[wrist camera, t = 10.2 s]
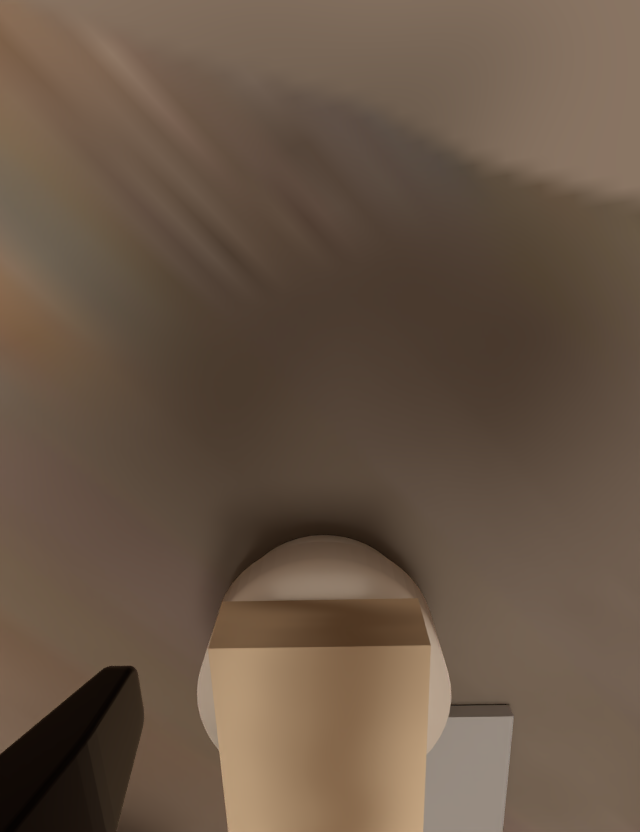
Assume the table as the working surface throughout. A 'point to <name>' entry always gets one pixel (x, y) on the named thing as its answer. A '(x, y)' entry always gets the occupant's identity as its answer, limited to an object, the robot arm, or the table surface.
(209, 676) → the bowl
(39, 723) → the robot arm
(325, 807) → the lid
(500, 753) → the mat
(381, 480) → the table surface
